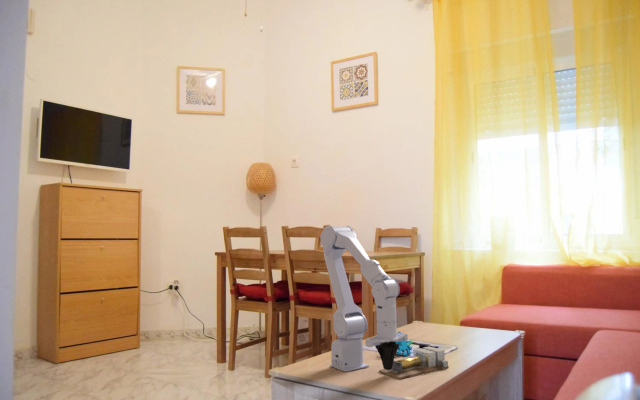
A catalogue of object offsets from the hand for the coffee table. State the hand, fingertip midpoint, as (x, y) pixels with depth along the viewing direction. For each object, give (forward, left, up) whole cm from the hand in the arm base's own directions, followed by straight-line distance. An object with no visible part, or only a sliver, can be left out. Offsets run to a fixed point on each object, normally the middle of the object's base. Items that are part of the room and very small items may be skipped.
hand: (387, 369), depth 139 cm
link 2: (+19, -1, -1) cm, 19 cm away
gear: (+21, +17, -2) cm, 27 cm away
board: (+11, 0, -2) cm, 11 cm away
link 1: (+15, +1, -1) cm, 15 cm away
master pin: (+8, 0, -1) cm, 8 cm away
